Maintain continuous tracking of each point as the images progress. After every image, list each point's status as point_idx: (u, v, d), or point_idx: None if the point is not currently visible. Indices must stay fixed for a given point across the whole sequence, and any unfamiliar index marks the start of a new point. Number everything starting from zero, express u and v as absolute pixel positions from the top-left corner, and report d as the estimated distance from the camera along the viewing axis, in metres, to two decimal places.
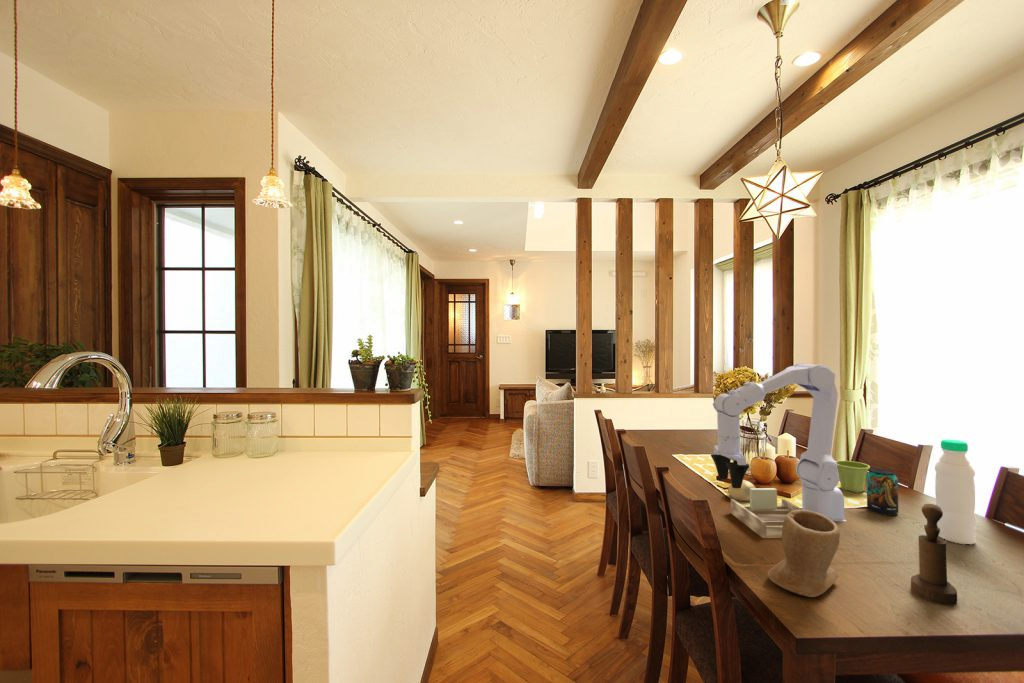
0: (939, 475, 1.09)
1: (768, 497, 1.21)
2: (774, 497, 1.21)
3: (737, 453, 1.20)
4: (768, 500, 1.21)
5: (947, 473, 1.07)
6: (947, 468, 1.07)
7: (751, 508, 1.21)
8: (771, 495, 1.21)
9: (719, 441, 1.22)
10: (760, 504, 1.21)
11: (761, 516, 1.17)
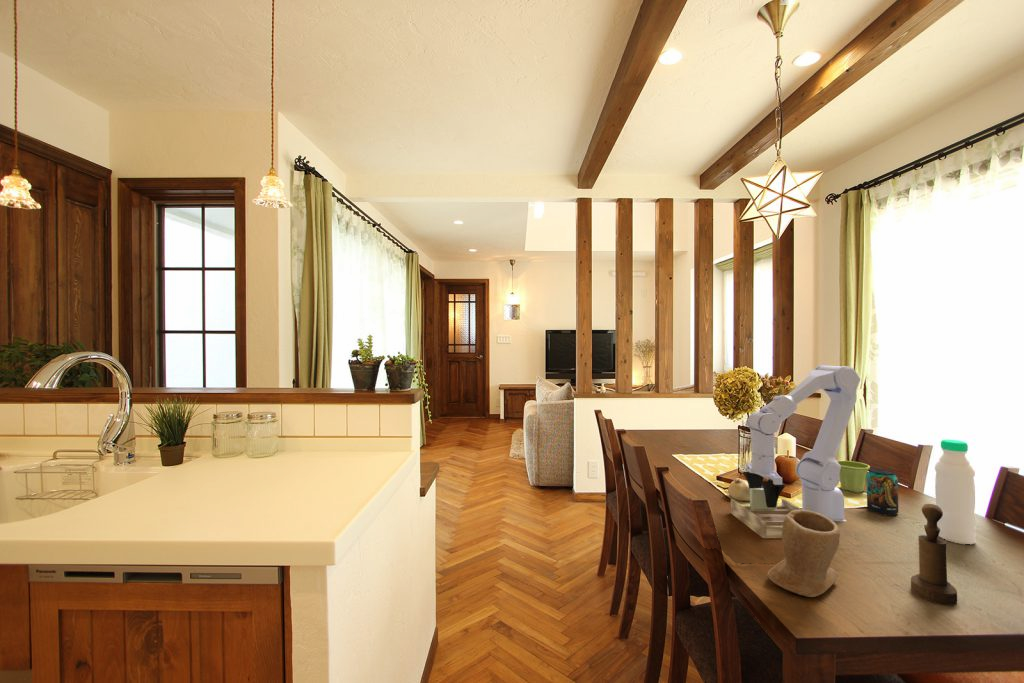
0: (939, 475, 1.09)
1: None
2: None
3: (772, 472, 1.19)
4: None
5: (947, 473, 1.07)
6: (947, 468, 1.07)
7: (751, 508, 1.21)
8: None
9: (753, 459, 1.21)
10: (760, 504, 1.21)
11: (761, 516, 1.17)
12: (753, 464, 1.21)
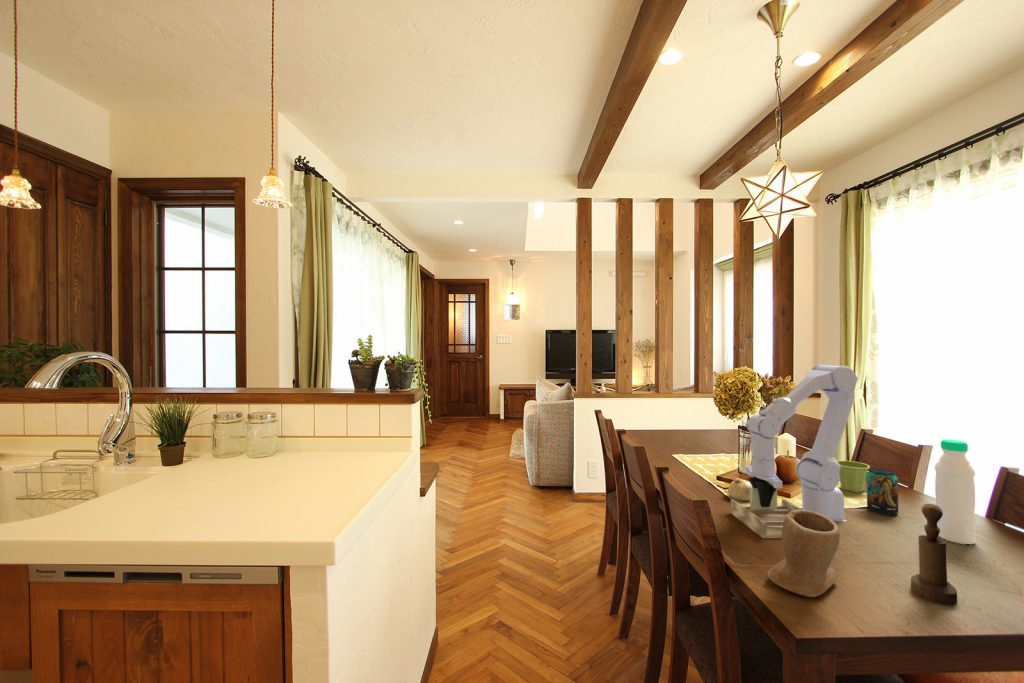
0: (939, 475, 1.09)
1: None
2: (774, 497, 1.21)
3: (772, 475, 1.19)
4: None
5: (947, 473, 1.07)
6: (947, 468, 1.07)
7: (751, 508, 1.21)
8: None
9: (753, 463, 1.21)
10: (760, 504, 1.21)
11: (761, 516, 1.17)
12: (753, 467, 1.21)
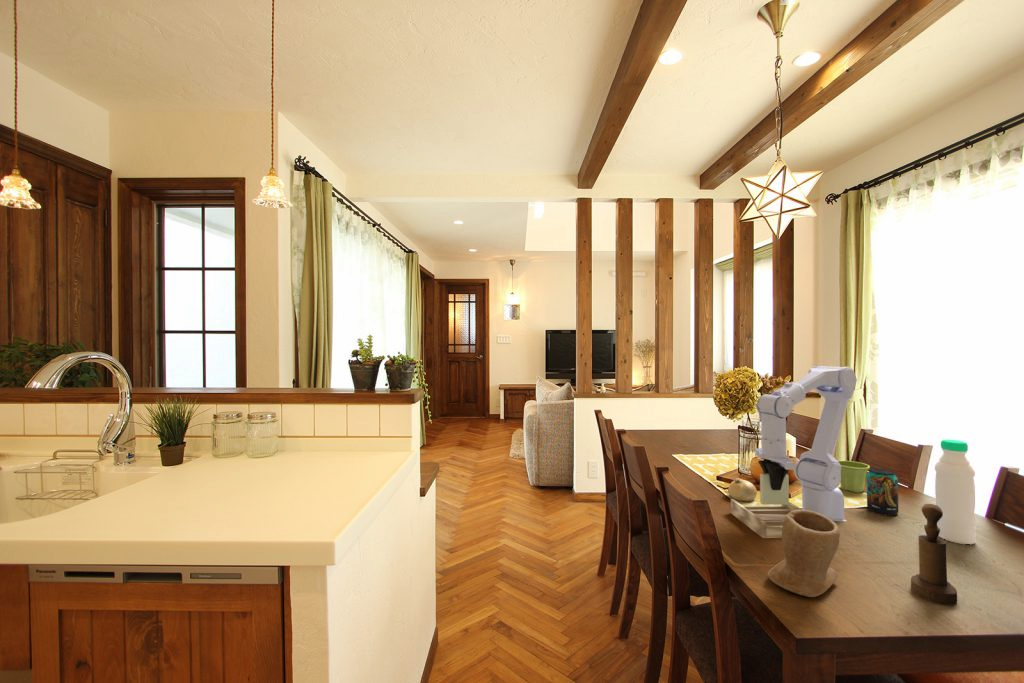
0: (939, 475, 1.09)
1: None
2: (786, 483, 1.16)
3: (783, 457, 1.14)
4: None
5: (947, 473, 1.07)
6: (947, 468, 1.07)
7: (761, 494, 1.16)
8: None
9: (763, 444, 1.16)
10: (771, 490, 1.16)
11: (761, 516, 1.17)
12: (763, 449, 1.16)
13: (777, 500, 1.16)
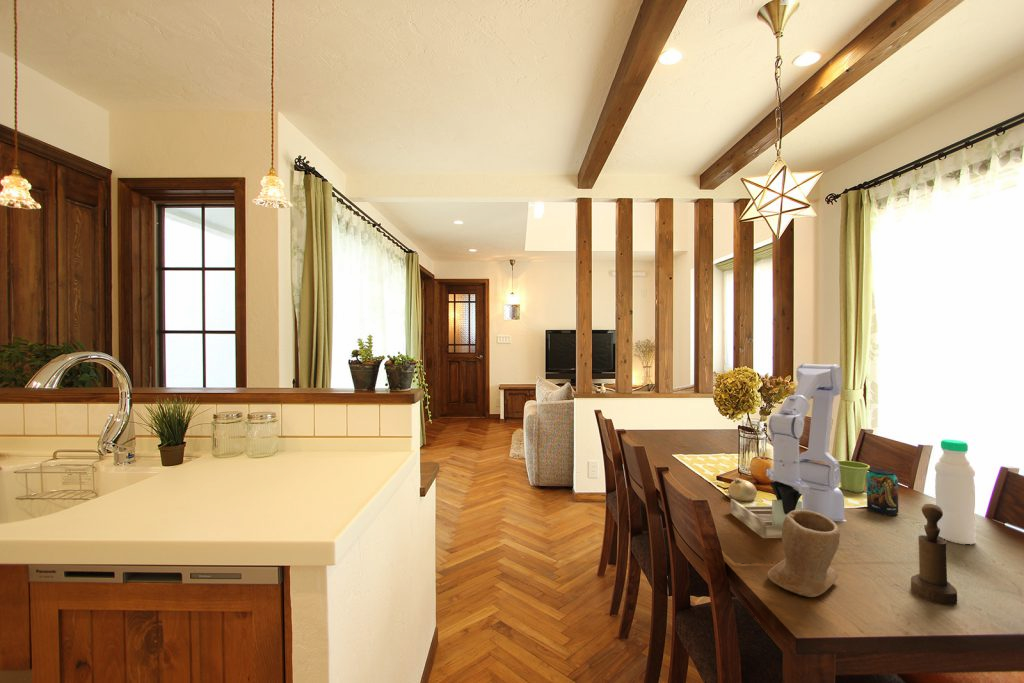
0: (939, 475, 1.09)
1: None
2: None
3: (797, 480, 1.08)
4: None
5: (947, 473, 1.07)
6: (947, 468, 1.07)
7: (773, 521, 1.11)
8: None
9: (776, 466, 1.11)
10: (783, 517, 1.10)
11: (761, 516, 1.17)
12: (776, 471, 1.11)
13: None
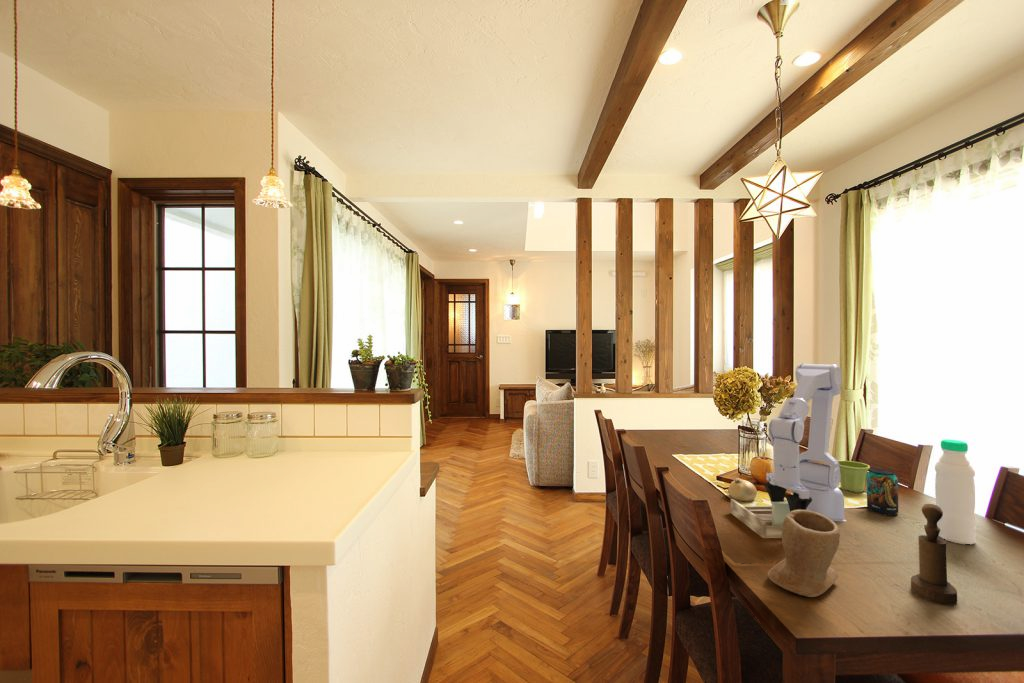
0: (939, 475, 1.09)
1: None
2: None
3: (797, 484, 1.08)
4: None
5: (946, 473, 1.07)
6: (947, 468, 1.07)
7: (773, 524, 1.11)
8: None
9: (776, 470, 1.11)
10: (783, 519, 1.10)
11: (761, 516, 1.17)
12: (776, 475, 1.11)
13: None
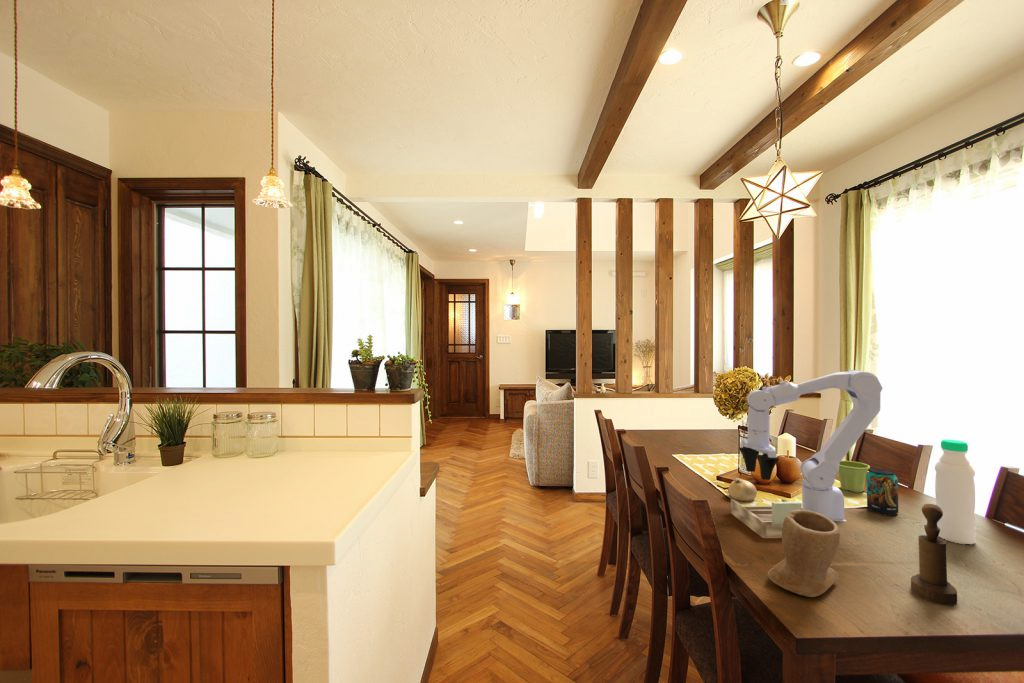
0: (939, 475, 1.09)
1: None
2: None
3: (767, 446, 1.26)
4: None
5: (947, 473, 1.07)
6: (947, 468, 1.07)
7: (773, 524, 1.11)
8: (795, 509, 1.10)
9: (749, 435, 1.28)
10: (783, 519, 1.10)
11: (761, 516, 1.17)
12: (749, 439, 1.28)
13: None
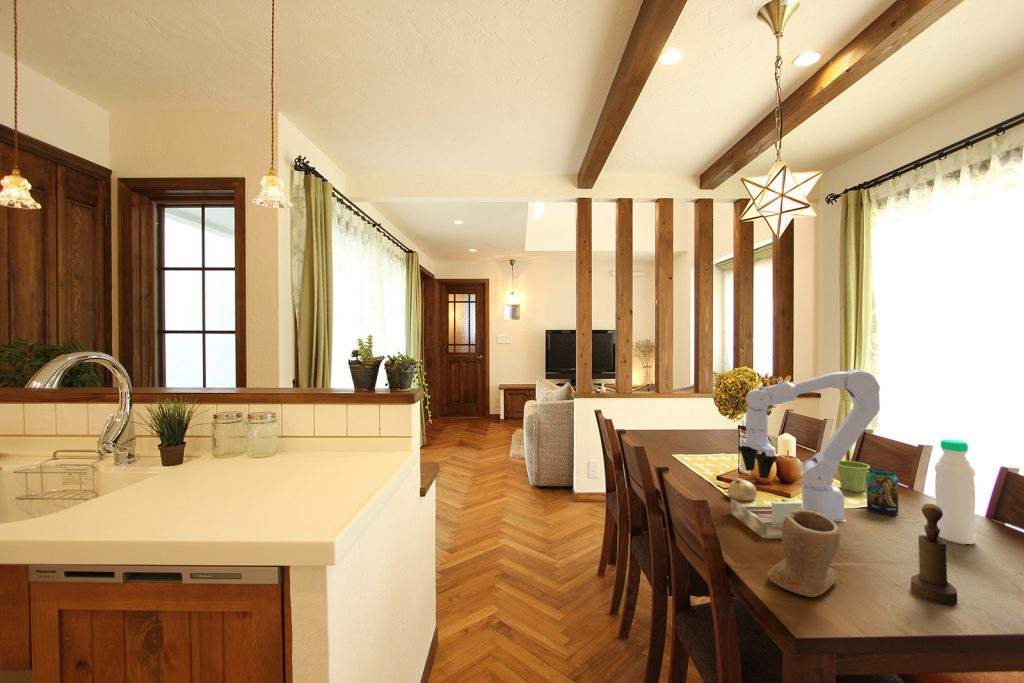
0: (939, 475, 1.09)
1: None
2: None
3: (765, 445, 1.27)
4: None
5: (947, 473, 1.07)
6: (947, 468, 1.07)
7: (773, 524, 1.11)
8: (795, 509, 1.10)
9: (748, 434, 1.29)
10: (783, 519, 1.10)
11: (761, 516, 1.17)
12: (747, 438, 1.30)
13: None
